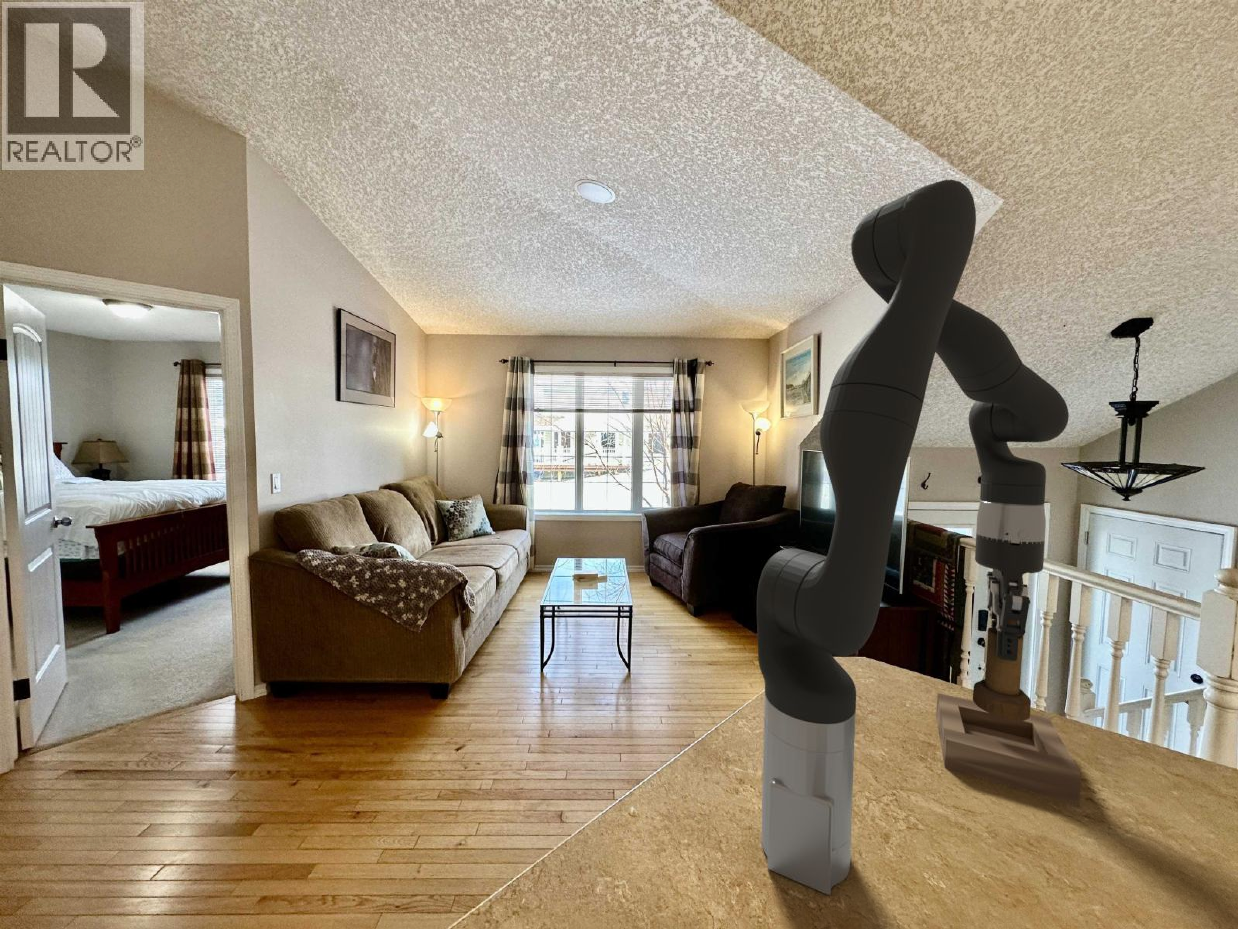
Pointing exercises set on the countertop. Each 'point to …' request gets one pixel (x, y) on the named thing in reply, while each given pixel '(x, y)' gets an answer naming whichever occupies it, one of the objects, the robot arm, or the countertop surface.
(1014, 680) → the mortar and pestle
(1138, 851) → the countertop surface
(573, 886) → the countertop surface
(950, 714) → the brown flat square frame
